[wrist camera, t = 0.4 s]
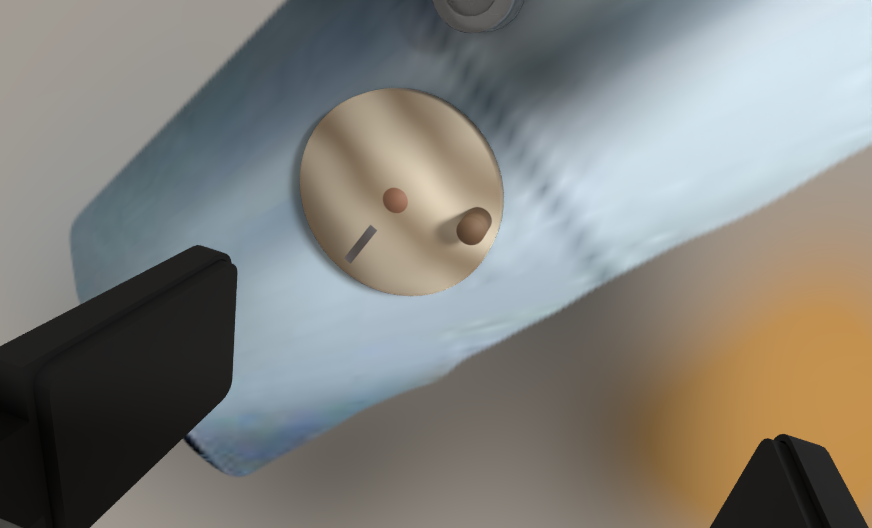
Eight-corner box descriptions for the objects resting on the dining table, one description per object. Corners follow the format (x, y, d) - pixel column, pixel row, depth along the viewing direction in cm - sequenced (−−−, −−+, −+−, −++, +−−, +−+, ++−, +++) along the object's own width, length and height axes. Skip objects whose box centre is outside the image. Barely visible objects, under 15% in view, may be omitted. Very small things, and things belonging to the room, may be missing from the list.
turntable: (379, 38, 39) (356, 41, 36) (549, 189, 40) (543, 206, 36) (276, 199, 47) (248, 214, 43) (420, 323, 47) (404, 347, 44)
